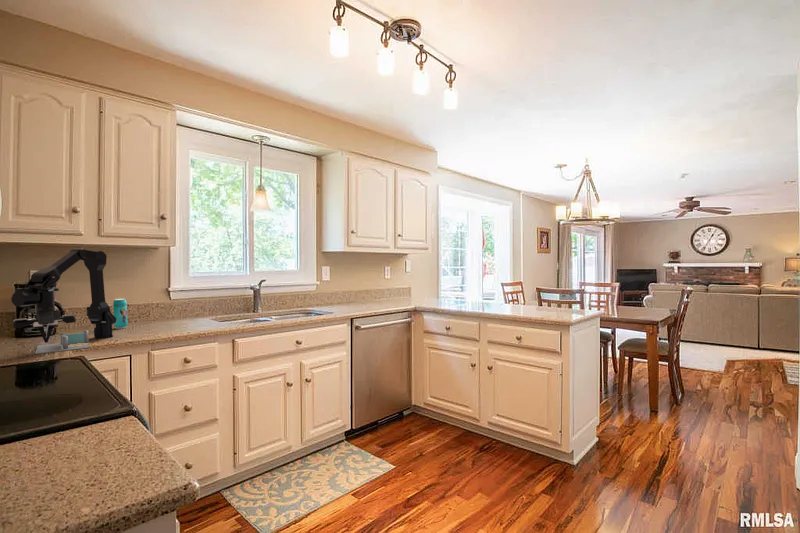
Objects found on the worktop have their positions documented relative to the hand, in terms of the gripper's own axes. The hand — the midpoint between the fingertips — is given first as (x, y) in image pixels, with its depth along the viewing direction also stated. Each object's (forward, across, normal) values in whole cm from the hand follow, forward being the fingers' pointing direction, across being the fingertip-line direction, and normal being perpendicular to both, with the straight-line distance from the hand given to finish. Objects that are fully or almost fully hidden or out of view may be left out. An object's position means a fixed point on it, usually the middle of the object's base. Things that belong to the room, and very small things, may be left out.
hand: (46, 342), depth 168 cm
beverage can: (+4, +31, +38) cm, 50 cm away
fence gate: (+3, +6, +3) cm, 7 cm away
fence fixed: (+3, +10, +6) cm, 12 cm away
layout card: (+4, +6, +5) cm, 8 cm away
